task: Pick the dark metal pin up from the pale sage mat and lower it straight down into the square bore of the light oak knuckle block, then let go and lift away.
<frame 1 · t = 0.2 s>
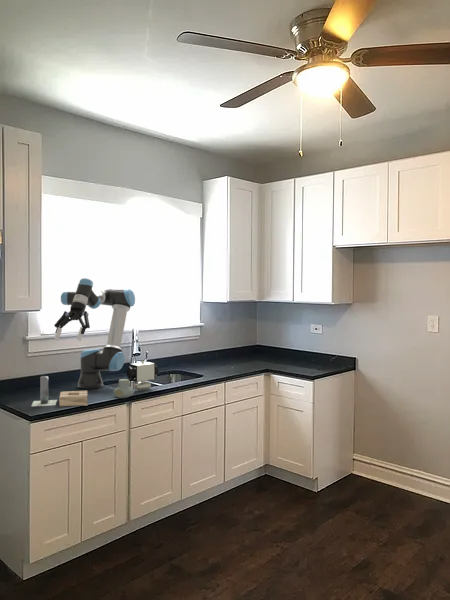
hand: (67, 339, 260), 35 cm above the counter, tool tilted 35°, fingers open, 13 cm apart
ball valve: (142, 390, 302), on the counter
air freshener: (123, 397, 283), on the counter
pin: (44, 390, 266), on the mat
mat: (44, 403, 266), on the counter
knuckle block: (73, 403, 268), on the counter
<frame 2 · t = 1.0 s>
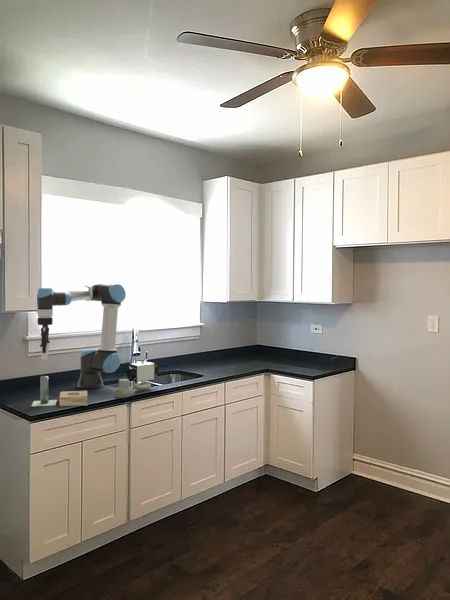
hand: (45, 357, 265), 25 cm above the counter, tool pointing down, fingers open, 13 cm apart
nothing on the counter moved.
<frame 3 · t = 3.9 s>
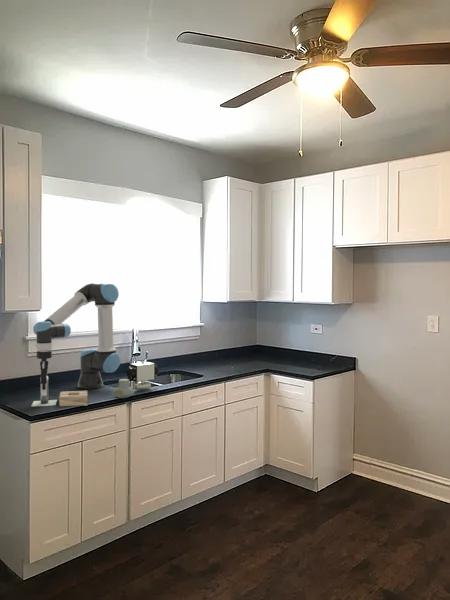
hand: (44, 394, 266), 5 cm above the counter, tool pointing down, fingers closed on pin, 4 cm apart
pin: (44, 389, 266), on the mat, touching gripper
everything else where it was.
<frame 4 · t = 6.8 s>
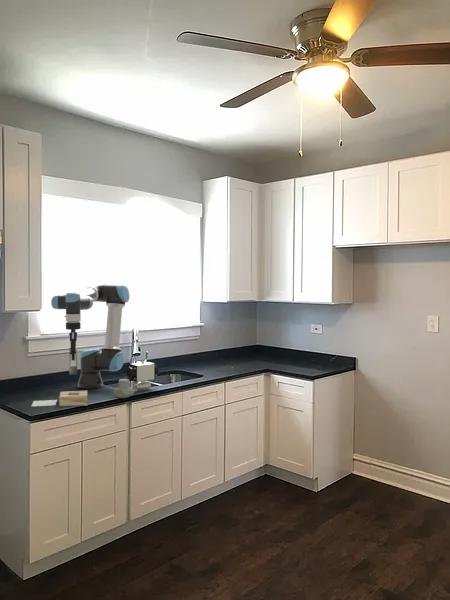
hand: (73, 365, 267), 20 cm above the counter, tool pointing down, fingers closed on pin, 4 cm apart
pin: (73, 361, 267), point 23 cm above the counter, touching gripper
everything else where it was.
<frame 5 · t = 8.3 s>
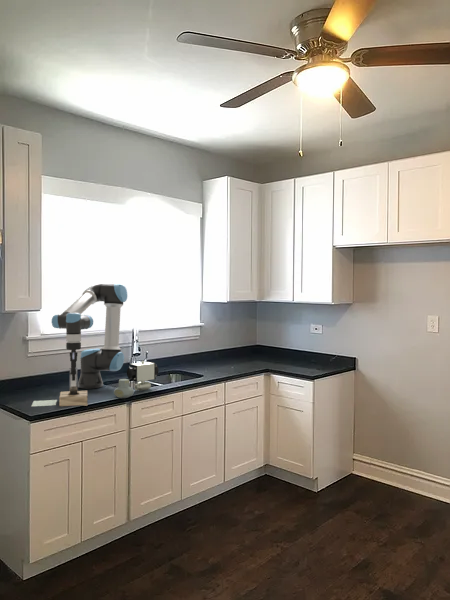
hand: (73, 385, 268), 10 cm above the counter, tool pointing down, fingers closed on pin, 4 cm apart
pin: (73, 381, 268), point 12 cm above the counter, touching gripper
everything else where it was.
when the fingers open (6 cm above the counter, at t = 9.5 s): pin drops 2 cm, resting in knuckle block.
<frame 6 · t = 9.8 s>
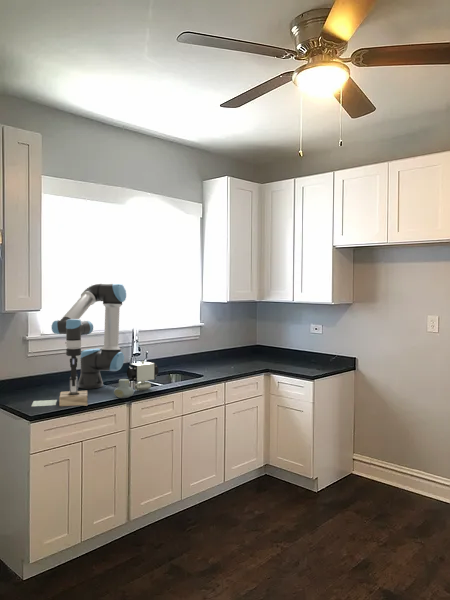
hand: (73, 390, 268), 7 cm above the counter, tool pointing down, fingers open, 8 cm apart
pin: (73, 390, 268), in the knuckle block
everything else where it was.
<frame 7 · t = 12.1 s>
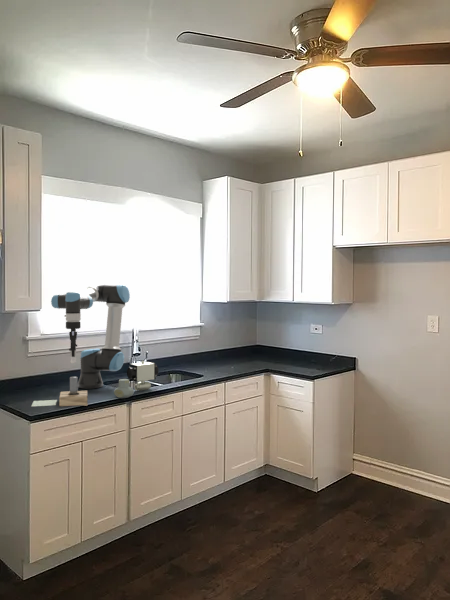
hand: (73, 360, 268), 23 cm above the counter, tool pointing down, fingers open, 13 cm apart
nothing on the counter moved.
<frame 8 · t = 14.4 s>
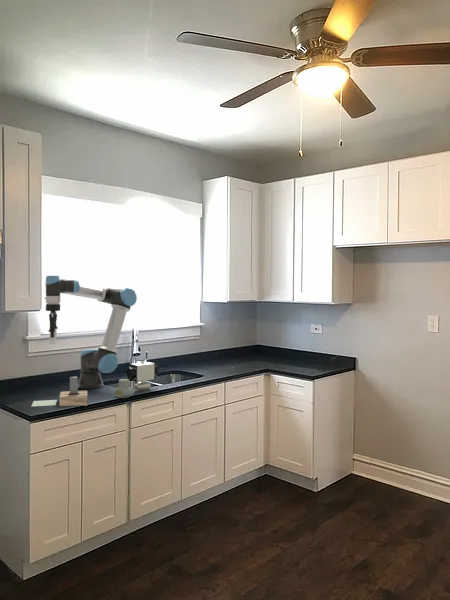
hand: (53, 342, 276), 32 cm above the counter, tool pointing down, fingers open, 13 cm apart
nothing on the counter moved.
at the end: pin 0.1 cm off-centre on the knuckle block, point 7.0 cm above the knuckle block's base; pin tilted 0°; the gripper is holding nothing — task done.
